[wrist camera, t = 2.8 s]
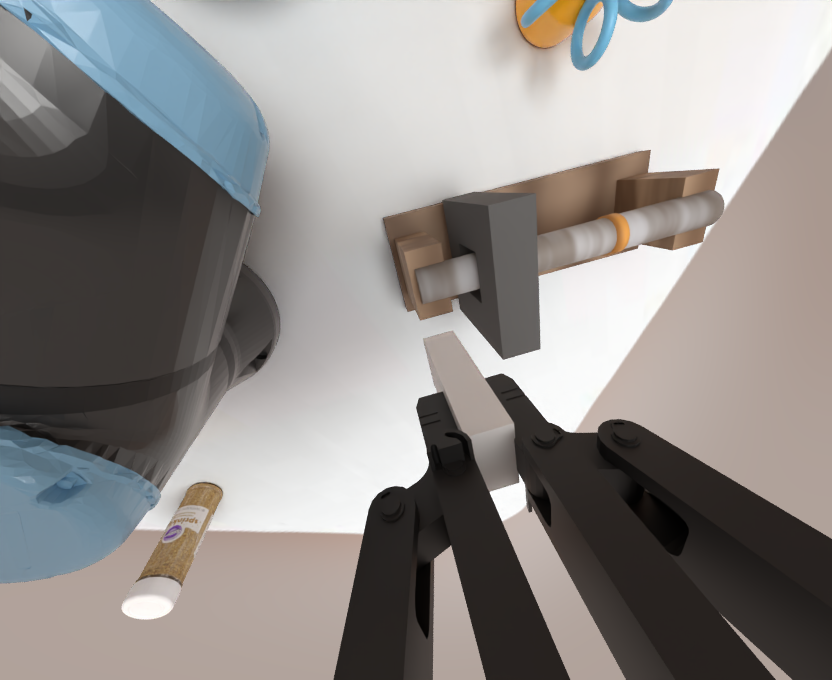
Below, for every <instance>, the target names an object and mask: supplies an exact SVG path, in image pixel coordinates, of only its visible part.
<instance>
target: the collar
mask: <svg viewBox="0 0 832 680" xmlns="http://www.w3.org/2000/svg"><path fill="white" fill-rule="evenodd" d="M442 201H443V207H444V213H445V219H446V225H447V231H448V237H449V243H450V249H451V255H452V258H456V257H460V256H463V255H467V254H471V253H474V252H476V260H477V268H478V276H479V284H480V289H477V290H473V291H470V292H466V293H463V294H459V295H458V298H459V304H460V309H461V311H462V312H463V313H464V314H465V315H466V316H467V318H468V319H469V320H470V321H471V322H472V323H473V325H474V326H475V327H476V328H477V329H478V331H479V332H480V333H481V334H482V335H483V336H484V338H485V339H486V340H487V341H488V342H489V343H490V345H491V346H492V347H493V348H494V349H495V351H496V352H497V353H498V354H499V355H500V356H501V358H502V359H503V360H504V359H507V358H511V357H514V356H518V355H521V354H525V353H528V352H532V351H535V350H539V349H540V317H539V281H538V245H537V208H536V193H497V192H472V193H468V194H464V195H461V196H457V197H453V198H449V199H445V200H442Z"/></svg>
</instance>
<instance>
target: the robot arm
mask: <svg viewBox="0 0 832 680" xmlns="http://www.w3.org/2000/svg"><path fill="white" fill-rule="evenodd" d="M269 145H270V141H269V133H268V129H267V126H266V123H265V120H264V118H263V116H262V114H261V112H260V110H259V108H258V107H257V105H256V104H255V102H254V101H253V99H252V98H251V97H250V95H249V94H248V93H247V92H246V91H245V89H244V88H243V87H242V86H241V85H240V84H239V82H238V81H237V80H236V79H235V78H234V77H233V76H232V75H231V74H230V73H229V72H228V71H227V70H226V69H225V68H224V67H223V66H222V65H221V64H220V63H219V62H218V61H217V60H216V59H215V58H214V57H213V56H212V55H211V54H210V53H209V52H207V51H206V50H205V49H204V48H203V47H202V46H201V45H200V44H199V43H198V42H196V41H195V40H194V39H193V38H192V37H191V36H190V35H189V34H188V33H186V32H185V31H184V30H183V29H182V28H181V27H180V26H179V25H177V24H176V23H175V22H174V21H173V20H172V19H171V18H169V17H168V16H167V15H166V14H165V13H164V12H163V11H161V10H160V9H159V8H158V7H157V6H156V5H154V4H153V3H152V2H151V1H150V0H0V583H16V582H28V581H35V580H41V579H46V578H51V577H54V576H57V575H63V574H67V573H71V572H74V571H78V570H80V569H83V568H85V567H88V566H90V565H92V564H94V563H96V562H98V561H100V560H102V559H103V558H105V557H106V556H108V555H109V554H111V553H112V552H114V551H115V550H116V549H117V548H118V547H119V546H120V545H121V544H122V543H123V542H125V540H126V539H127V538H128V537H129V535H130V534H131V533H132V532H133V530H134V529H135V528H136V526H137V525H138V524H139V522H140V521H141V520H142V518H143V517H144V516H145V514H146V513H147V512H148V511H149V510H151V509H153V508H154V507H155V506H156V504H157V503H158V502H159V499H160V497H161V494H160V492H161V491H162V489H163V488H164V486H165V485H166V483H167V482H168V480H169V478H170V477H171V475H172V474H173V472H174V471H175V469H176V468H177V466H178V465H179V463H180V462H181V460H182V459H183V457H184V456H185V454H186V452H187V451H188V449H189V448H190V446H191V445H192V443H193V442H194V440H195V439H196V437H197V436H198V434H199V433H200V431H201V430H202V428H203V426H204V425H205V423H206V422H207V420H208V419H209V417H210V416H211V414H212V413H213V411H214V410H215V408H216V407H217V405H218V403H219V402H220V400H221V399H222V397H223V396H224V394H225V393H226V391H228V390H230V389H231V388H233V387H235V386H236V385H238V384H240V383H241V382H243V381H245V380H246V379H248V378H250V377H251V376H253V375H254V374H255V373H256V372H258V371H259V370H260V369H261V368H262V367H263V366H264V364H265V363H266V362H267V360H268V359H269V357H270V356H271V354H272V352H273V350H274V348H275V346H276V344H277V341H278V338H279V333H280V318H279V312H278V309H277V306H276V303H275V301H274V298H273V296H272V295H271V293H270V291H269V290H268V288H267V287H266V285H265V284H264V283H263V282H262V280H261V279H260V278H259V277H258V276H257V275H256V274H255V273H254V272H253V271H252V270H250V269H249V268H248V267H247V266H245V265H244V264H243V263H242V262H243V258H244V255H245V251H246V248H247V244H248V241H249V237H250V233H251V230H252V226H253V223H254V219H255V216H256V217H259V215H260V212H261V208H260V205H259V204H258V200H259V195H260V190H261V186H262V181H263V176H264V172H265V167H266V162H267V158H268V153H269ZM423 340H424V345H425V349H426V353H427V357H428V361H429V365H430V370H431V374H432V378H433V382H434V385H435V388H436V390H437V393H435V394H432V395H428V396H425V397H421V398H419V400H418V403H417V407H416V409H417V413H418V417H419V421H420V425H421V428H422V432H423V436H424V440H425V444H426V448H427V456H428V459H429V466H428V469H427V471H426V473H425V475H424V476H423V477H422V478H421V479H420V480H419V481H418V482H417V483H415V484H414V485H412V486H411V487H409V488H408V489H406V488H404V487H398V486H394V487H390V488H386V489H385V490H383V491H382V492H380V493H379V494H378V495H377V496H376V497H375V498H374V500H373V501H372V503H371V505H370V508H369V511H368V516H367V521H366V526H365V530H364V535H363V540H362V545H361V550H360V555H359V559H358V565H357V569H356V574H355V579H354V584H353V588H352V593H351V598H350V603H349V608H348V613H347V617H346V623H345V627H344V632H343V637H342V641H341V646H340V651H339V656H338V661H337V666H336V670H335V675H334V680H433V608H434V558H436V557H437V556H438V555H439V554H441V553H442V552H443V551H444V550H446V549H447V548H448V547H450V545H451V546H452V550H453V554H454V557H455V561H456V565H457V569H458V573H459V576H460V580H461V584H462V588H463V592H464V596H465V600H466V604H467V607H468V611H469V615H470V619H471V623H472V626H473V630H474V634H475V638H476V642H477V646H478V649H479V653H480V658H481V661H482V665H483V669H484V673H485V677H486V680H570V678H569V676H568V673H567V671H566V669H565V667H564V664H563V662H562V660H561V657H560V655H559V653H558V650H557V648H556V646H555V643H554V641H553V639H552V637H551V634H550V632H549V629H548V627H547V625H546V622H545V620H544V618H543V616H542V613H541V611H540V609H539V606H538V604H537V602H536V599H535V597H534V595H533V592H532V590H531V588H530V585H529V583H528V581H527V578H526V576H525V574H524V572H523V569H522V567H521V565H520V562H519V560H518V558H517V555H516V553H515V551H514V548H513V546H512V544H511V541H510V539H509V537H508V534H507V532H506V530H505V528H504V525H503V523H502V521H501V518H500V516H499V514H498V511H497V509H496V507H495V504H494V502H493V500H492V497H491V495H490V493H489V492H490V491H493V490H496V489H500V488H503V487H506V486H509V485H513V484H516V483H519V474H520V476H521V478H522V480H523V481H524V483H525V488H526V501H527V508H528V511H529V512H532V507H533V508H534V510H535V512H536V514H537V516H538V518H539V519H540V521H541V523H542V525H543V527H544V529H545V531H546V533H547V534H548V536H549V538H550V540H551V542H552V544H553V545H554V547H555V549H556V551H557V553H558V555H559V557H560V558H561V560H562V562H563V564H564V566H565V568H566V569H567V571H568V573H569V575H570V577H571V579H572V581H573V582H574V584H575V586H576V588H577V590H578V592H579V593H580V595H581V597H582V599H583V601H584V603H585V604H586V606H587V608H588V610H589V612H590V614H591V616H592V617H593V619H594V621H595V623H596V625H597V627H598V629H599V630H600V632H601V634H602V636H603V638H604V640H605V641H606V643H607V645H608V647H609V649H610V651H611V652H612V654H613V656H614V658H615V660H616V662H617V664H618V665H619V667H620V669H621V670H622V673H623V675H624V677H625V678H626V680H776V679H775V678H774V677H773V676H772V675H771V674H770V672H769V671H768V670H767V669H766V668H765V666H764V665H763V664H762V663H761V662H760V661H759V659H758V658H757V657H756V656H755V655H754V653H753V652H752V651H751V650H750V649H749V648H748V647H747V645H746V644H745V643H744V642H743V640H742V639H741V638H740V637H739V636H738V635H737V634H736V632H735V631H734V630H733V629H732V628H731V627H730V625H729V624H728V623H727V622H726V620H725V619H724V618H723V617H725V618H726V619H727V620H728V621H729V622H730V623H731V624H733V626H734V627H736V628H737V629H738V630H739V631H740V632H741V633H742V634H743V635H744V636H745V637H747V638H748V639H749V640H750V641H751V642H752V643H753V644H754V645H755V646H756V647H757V648H759V649H760V650H761V651H762V652H763V653H764V654H765V655H766V656H767V657H768V658H770V659H771V660H772V661H773V662H774V663H775V664H776V665H777V666H778V667H780V668H781V669H782V670H783V671H784V672H785V673H786V674H787V675H788V676H789V677H790V678H791V679H793V680H832V539H831V538H829V537H828V536H826V535H824V534H823V533H821V532H819V531H817V530H816V529H814V528H812V527H811V526H809V525H807V524H805V523H804V522H802V521H801V520H799V519H797V518H796V517H794V516H792V515H790V514H789V513H787V512H785V511H784V510H782V509H780V508H779V507H777V506H775V505H774V504H772V503H770V502H769V501H767V500H765V499H763V498H762V497H760V496H758V495H757V494H755V493H753V492H751V491H750V490H748V489H747V488H745V487H743V486H742V485H740V484H738V483H737V482H735V481H733V480H732V479H730V478H728V477H727V476H725V475H723V474H721V473H720V472H718V471H716V470H715V469H713V468H711V467H710V466H708V465H706V464H705V463H703V462H701V461H700V460H698V459H696V458H694V457H693V456H691V455H689V454H688V453H686V452H684V451H683V450H681V449H679V448H678V447H676V446H674V445H672V444H671V443H669V442H667V441H666V440H664V439H662V438H660V437H659V436H657V435H656V434H654V433H652V432H651V431H649V430H647V429H646V428H644V427H642V426H640V425H638V424H636V423H633V422H631V421H626V420H621V419H617V420H609V421H606V422H603V423H602V424H601V425H600V426H599V428H598V433H570V432H566V431H564V430H563V429H562V428H560V427H559V426H557V425H554V424H552V423H548V422H547V421H546V420H545V418H544V417H543V416H542V415H541V413H540V412H539V411H538V410H537V408H536V407H535V406H534V405H533V404H532V402H531V401H530V400H529V399H528V397H527V396H525V394H524V392H523V391H522V390H521V389H520V388H519V386H518V385H517V384H516V383H515V381H514V380H513V379H512V378H510V377H508V376H506V375H504V374H498V375H495V376H491V377H488V378H484V377H483V375H482V374H481V372H480V371H479V369H478V368H477V366H476V365H475V363H474V362H473V360H472V359H471V357H470V356H469V354H468V353H467V351H466V350H465V348H464V347H463V345H462V344H461V342H460V341H459V339H458V338H457V336H456V335H455V333H454V332H453V331H449V332H446V333H442V334H439V335H435V336H431V337H428V338H424V339H423ZM518 472H519V473H518ZM721 615H722V616H723V617H722V616H721Z"/></svg>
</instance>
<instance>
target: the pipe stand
mask: <svg viewBox="0 0 832 680" xmlns="http://www.w3.org/2000/svg"><path fill="white" fill-rule="evenodd" d="M650 151H651V150H647V151H639V152H635V153H631V154H627V155H624V156H620V157H616V158H612V159H608V160H604V161H600V162H597V163H593V164H589V165H585V166H581V167H577V168H573V169H570V170H566V171H562V172H558V173H554V174H550V175H547V176H543V177H539V178H535V179H531V180H527V181H523V182H520V183H516V184H512V185H508V186H504V187H500V188H496V189H493V190H489V191H485V192H497V193H536V208H537V245H538V276H540V275H543V274H547V273H551V272H554V271H558V270H561V269H565V268H569V267H572V266H576V265H580V264H583V263H587V262H590V261H594V260H598V259H601V258H605V257H609V256H612V255H616V254H619V253H623V252H627V251H630V250H634V249H638V245H640V244H642V245H647V246H653V247H658V248H663V249H668V250H676V249H679V248H683V247H686V246H690V245H694V244H697V243H701V242H703V238H704V234H705V229H706V226H709V225H712V224H713V223H715V222H716V221H717V220H718V219H719V218H720V217H721V215H722V213H723V210H724V200H723V198H722V196H721V195H720V194H719V193H718V192H716V191H714V190H715V185H716V181H717V177H718V172H719V169H705V170H688V171H671V172H654V173H648V167H649V159H650ZM383 220H384V224H385V228H386V232H387V235H388V239H389V243H390V247H391V251H392V255H393V259H394V263H395V267H396V271H397V274H398V278H399V282H400V286H401V290H402V294H403V298H404V302H405V306H406V309H407V311H408V312H409V311H413V310H416V312H417V315H418V317H419V319H420V320H424V319H427V318H431V317H434V316H438V315H442V314H445V313H449V312H452V311H453V309H452V303H451V300H453V299H456V298H458V295H459V294H463V293H466V292H470V291H473V290H477V289H480V284H479V276H478V268H477V260H476V252H474V253H471V254H467V255H463V256H460V257H456V258H452V255H451V249H450V243H449V237H448V231H447V225H446V219H445V213H444V207H443V202H442V203H439V204H435V205H431V206H427V207H423V208H419V209H415V210H412V211H408V212H404V213H400V214H396V215H392V216H388V217H385V218H383Z"/></svg>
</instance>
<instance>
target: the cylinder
mask: <svg viewBox="0 0 832 680" xmlns="http://www.w3.org/2000/svg"><path fill="white" fill-rule="evenodd" d="M672 1H673V0H660V1H659V2H658V3H656V4H654V5H652V6H648V7H641V6H637V5H635V4H633V3H631V2H630V1H629V0H516V15H517V21H518V24H519V28H520V30H521V32H522V34H523V36H524V37H525V38H526V39H527V40H528V41H529V42H530V43H531V44H533V45H535V46H537V47H541V48H548V47H553V46H555V45H557V44H559V43H560V42H562V41H563V40H565V39H566V38H567V37H569V36H570V35H571V34H572V40H571V59H572V62H573V65H574V66H575V68H576V69H578V70H582V71H583V70H587V69H589V68H591V67H592V66H593V65H594V64H596V62H597V61H598V60H599V59H600V58H601V56H602V55H603V53H604V52H605V50H606V48H607V46H608V44H609V42H610V39H611V37H612V34H613V31H614V28H615V24H616V20H617V14H619V15H621V16H622V17H623V18H625V19H627V20H630V21H634V22H646V21H650V20H652V19H655V18H657V17H658V16H660V15H661V14H662V13H663V12H665V11H666V9H667V8H668V7H669V6H670V4H671V3H672ZM603 6H604V20H603V25H602V29H601V33H600V36H599V38H598V41H597V43H596V45H595V47H594V49H593V50H592V52H591V53H590V54H589V55H588V56H586V57H585V56H584V55H583V51H582V39H583V34H584V30H585V26H586V23H588V22H589V21H590V20H591V19H592V18H594V17H595V16H596V15H597V13H598V12H599V11H600V10H601V8H602V7H603Z"/></svg>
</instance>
